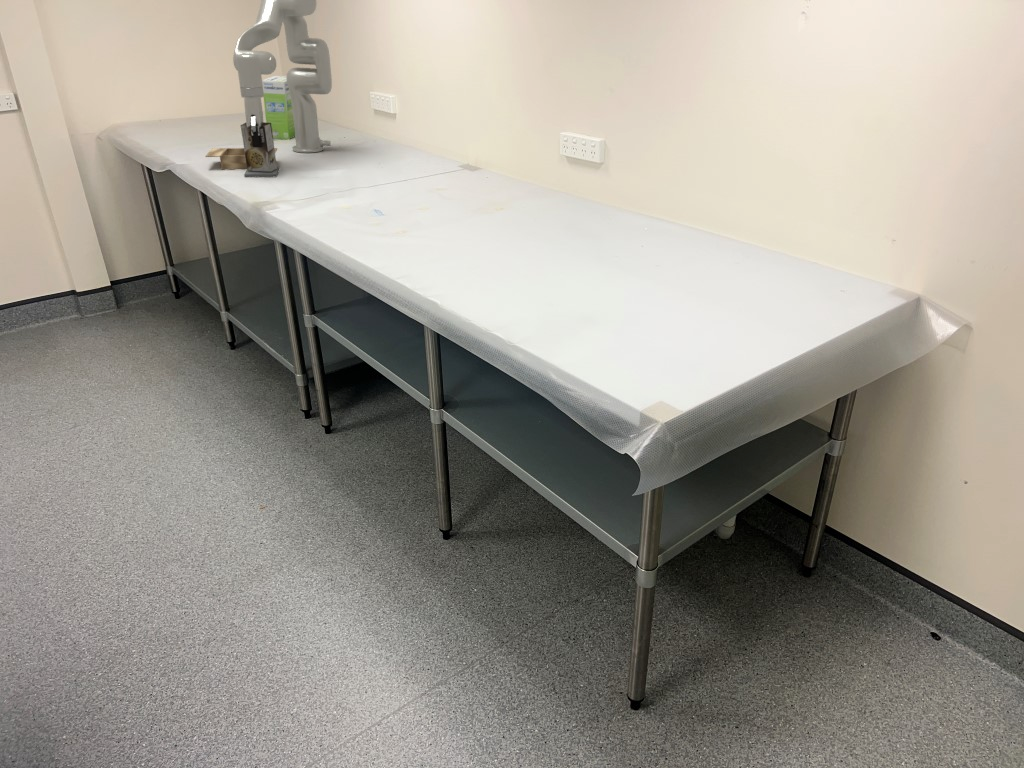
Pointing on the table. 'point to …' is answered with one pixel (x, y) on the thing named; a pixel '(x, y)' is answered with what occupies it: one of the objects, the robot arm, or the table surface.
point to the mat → (261, 173)
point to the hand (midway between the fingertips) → (258, 144)
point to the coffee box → (259, 149)
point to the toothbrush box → (278, 107)
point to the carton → (230, 157)
